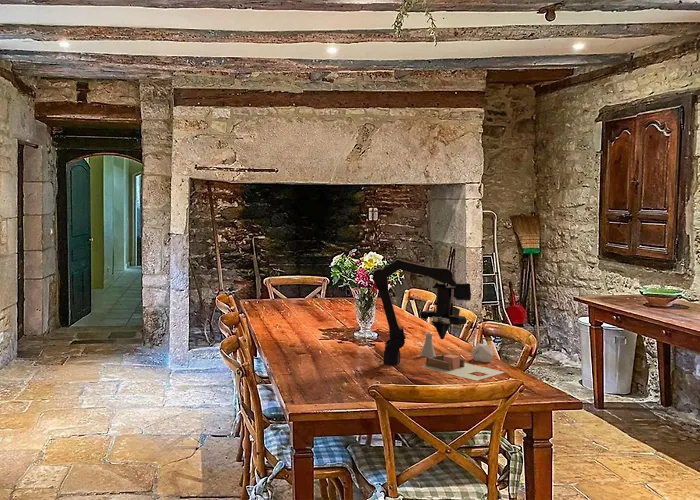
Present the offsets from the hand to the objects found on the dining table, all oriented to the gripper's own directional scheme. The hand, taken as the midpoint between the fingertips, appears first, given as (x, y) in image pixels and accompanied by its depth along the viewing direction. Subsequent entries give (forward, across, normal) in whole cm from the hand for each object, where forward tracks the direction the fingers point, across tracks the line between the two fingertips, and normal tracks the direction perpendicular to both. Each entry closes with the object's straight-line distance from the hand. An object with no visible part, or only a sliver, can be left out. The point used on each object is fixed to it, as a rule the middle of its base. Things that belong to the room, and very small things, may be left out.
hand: (442, 339), depth 274 cm
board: (+12, -9, -1) cm, 15 cm away
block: (+10, -5, 0) cm, 11 cm away
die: (+12, -6, -20) cm, 24 cm away
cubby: (+10, -2, 0) cm, 10 cm away
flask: (+12, +14, -10) cm, 21 cm away
